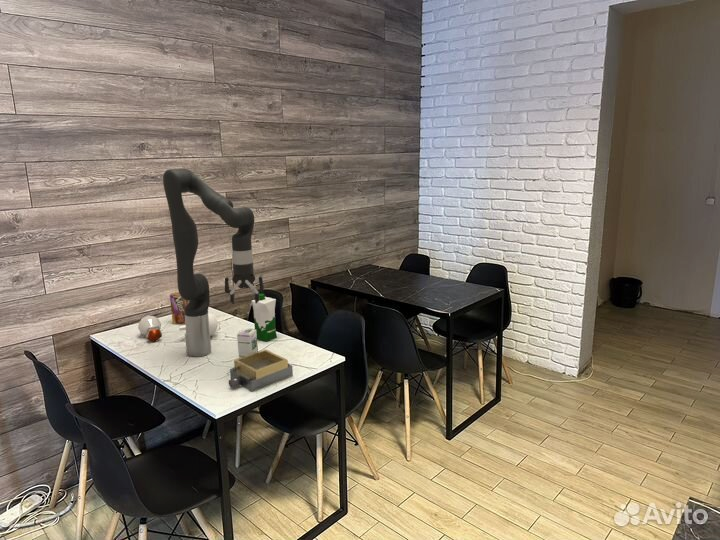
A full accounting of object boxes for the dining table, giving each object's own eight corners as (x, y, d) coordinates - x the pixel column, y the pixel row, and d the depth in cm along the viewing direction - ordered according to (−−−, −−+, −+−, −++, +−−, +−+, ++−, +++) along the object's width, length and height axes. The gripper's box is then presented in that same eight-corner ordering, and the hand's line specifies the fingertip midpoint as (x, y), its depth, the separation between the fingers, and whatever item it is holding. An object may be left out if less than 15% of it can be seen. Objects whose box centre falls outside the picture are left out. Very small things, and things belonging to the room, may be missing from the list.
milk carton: (264, 333, 231) (262, 291, 226) (279, 337, 226) (278, 294, 221) (251, 339, 223) (249, 296, 219) (266, 343, 219) (264, 299, 214)
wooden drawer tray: (242, 395, 172) (240, 377, 171) (220, 382, 182) (219, 364, 180) (292, 375, 188) (292, 358, 186) (270, 364, 197) (269, 348, 196)
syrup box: (253, 369, 193) (251, 334, 190) (238, 368, 194) (236, 332, 191) (258, 363, 198) (257, 328, 195) (245, 362, 200) (243, 327, 196)
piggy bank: (222, 337, 230) (191, 338, 231) (221, 311, 231) (190, 313, 232) (211, 339, 217) (178, 340, 219) (210, 312, 218) (177, 313, 220)
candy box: (193, 321, 246) (191, 291, 242) (189, 324, 242) (187, 294, 238) (176, 321, 247) (173, 291, 243) (172, 324, 242) (169, 294, 239)
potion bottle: (151, 334, 233) (158, 348, 222) (131, 326, 227) (138, 340, 216) (162, 317, 234) (170, 330, 222) (143, 309, 228) (150, 322, 216)
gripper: (221, 264, 182) (224, 306, 186) (261, 263, 183) (263, 305, 187) (225, 259, 189) (227, 300, 193) (263, 258, 191) (265, 299, 195)
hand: (245, 303), depth 190 cm, fingers open, 8 cm apart
